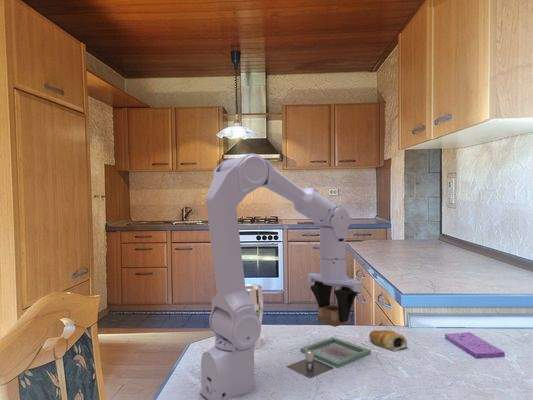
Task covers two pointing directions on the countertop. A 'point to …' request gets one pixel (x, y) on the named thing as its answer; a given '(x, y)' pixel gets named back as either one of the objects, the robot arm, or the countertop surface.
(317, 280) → the robot arm
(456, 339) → the sponges
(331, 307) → the collar
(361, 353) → the tray
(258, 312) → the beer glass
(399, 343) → the pastry
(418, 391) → the countertop surface
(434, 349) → the countertop surface
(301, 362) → the grey peg base
